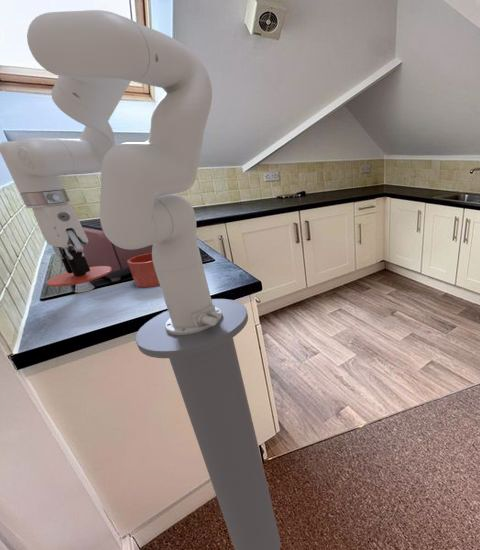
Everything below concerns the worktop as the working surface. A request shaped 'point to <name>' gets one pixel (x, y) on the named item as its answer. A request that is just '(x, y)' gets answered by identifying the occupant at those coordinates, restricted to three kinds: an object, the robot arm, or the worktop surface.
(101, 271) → the lid
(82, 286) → the chalice
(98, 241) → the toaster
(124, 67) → the robot arm
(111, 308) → the worktop surface
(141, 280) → the pot
